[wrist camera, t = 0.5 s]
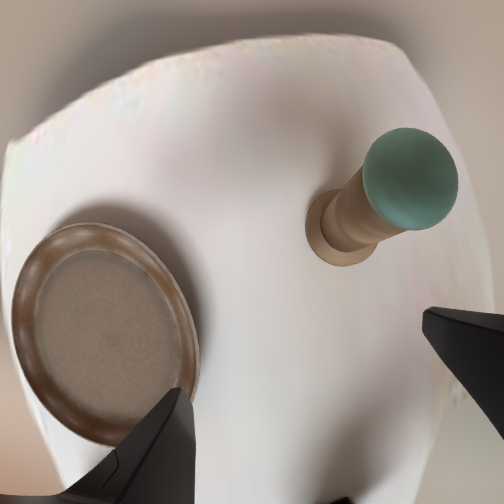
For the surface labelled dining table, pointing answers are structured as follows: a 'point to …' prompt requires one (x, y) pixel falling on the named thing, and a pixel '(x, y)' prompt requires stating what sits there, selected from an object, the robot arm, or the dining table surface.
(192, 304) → the dining table surface
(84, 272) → the plant saucer
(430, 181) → the bead column
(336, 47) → the dining table surface
